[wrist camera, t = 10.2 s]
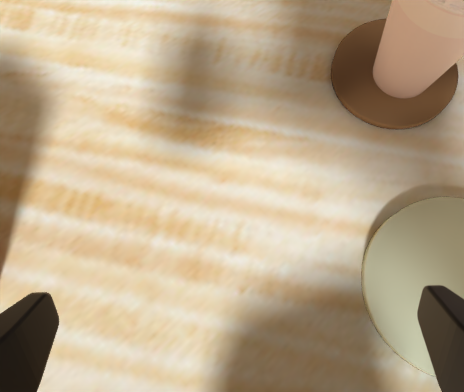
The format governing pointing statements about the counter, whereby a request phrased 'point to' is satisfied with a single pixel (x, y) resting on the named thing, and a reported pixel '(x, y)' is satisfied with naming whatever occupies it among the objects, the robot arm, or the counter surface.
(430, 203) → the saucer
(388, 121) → the disc
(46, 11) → the counter surface
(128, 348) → the counter surface
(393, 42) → the smoothie
